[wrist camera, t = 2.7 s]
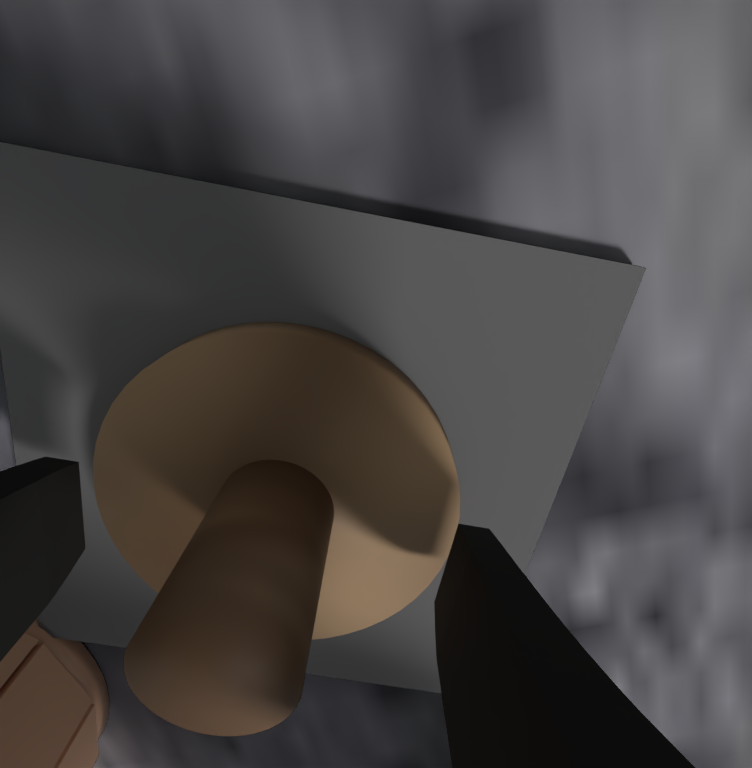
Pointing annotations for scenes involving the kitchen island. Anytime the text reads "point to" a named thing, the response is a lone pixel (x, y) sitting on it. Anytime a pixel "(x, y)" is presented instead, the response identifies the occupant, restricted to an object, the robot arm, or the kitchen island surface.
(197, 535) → the lid
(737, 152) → the kitchen island surface
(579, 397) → the mat
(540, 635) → the robot arm
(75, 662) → the tan round bowl
